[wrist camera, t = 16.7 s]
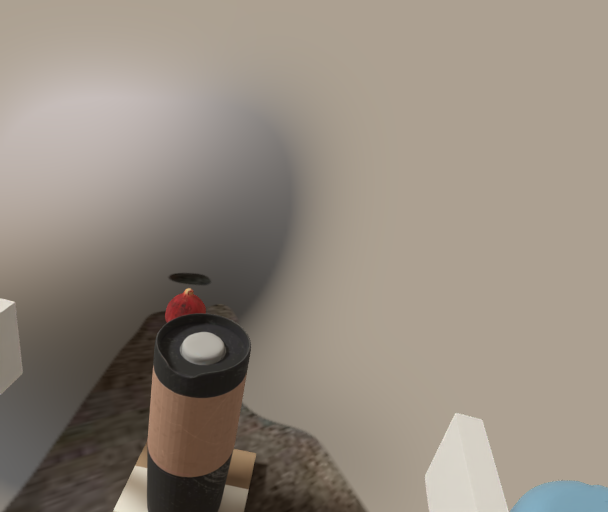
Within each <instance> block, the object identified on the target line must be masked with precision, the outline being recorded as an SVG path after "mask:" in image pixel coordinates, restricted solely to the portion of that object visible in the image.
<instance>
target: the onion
mask: <svg viewBox="0 0 608 512" xmlns="http://www.w3.org/2000/svg"><path fill="white" fill-rule="evenodd" d="M195 313H206V308H205V305H204V303H203V302H202V301H201V299H199V297H197V296H196V295H194V294H193V290H192V289H191V288H189V289H186V290H185V292H184V293H182V294H179V295H177V296H175V297H174V298H173V299H172V300H171V301H170V302H169V304H168V306H167V309H166V313H165V318H166V321H167V323H168V322H169V321H171V320H173V319H175V318H177V317H180V316H183V315H188V314H195Z"/></svg>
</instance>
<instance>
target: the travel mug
mask: <svg viewBox="0 0 608 512" xmlns="http://www.w3.org/2000/svg"><path fill="white" fill-rule="evenodd" d="M250 351H251V343H250V339H249V336H248V334H247V333H246V331H245V330H244V329H243V328H242V327H241V326H240V325H238V324H237V323H236V322H234V321H232V320H230V319H228V318H225V317H222V316H219V315H214V314H206V313H195V314H188V315H183V316H180V317H177V318H175V319H173V320H171V321H169V322H168V323H166V324H165V325H164V326H163V327H162V328H161V329H160V331H159V332H158V334H157V337H156V341H155V351H154V365H153V377H152V391H151V404H150V417H149V430H148V447H147V509H148V512H218V510H219V508H220V504H221V500H222V496H223V492H224V488H225V484H226V479H227V475H228V471H229V466H230V462H231V458H232V453H233V449H234V445H235V439H236V433H237V427H238V421H239V416H240V410H241V404H242V397H243V392H244V386H245V380H246V375H247V368H248V363H249V357H250Z"/></svg>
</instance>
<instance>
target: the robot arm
mask: <svg viewBox="0 0 608 512" xmlns="http://www.w3.org/2000/svg"><path fill="white" fill-rule="evenodd" d="M22 373H23V370H22V360H21V351H20V342H19V333H18V324H17V314H16V305H15V302H13V301H9V300H5V299H1V298H0V395H1V394H2V393H3V392H4V391H5V390H6V389H7V388H8V387H9V386H10V385H11V384H12V383H13V382H14V381H15V380H16V379H17V378H18V377H19V376H21V374H22ZM425 481H426V490H427V498H428V507H429V512H509V511H508V507H507V504H506V501H505V497H504V494H503V490H502V487H501V484H500V480H499V476H498V473H497V469H496V466H495V462H494V459H493V455H492V452H491V448H490V445H489V441H488V438H487V434H486V431H485V428H484V424H483V421H482V419H478V418H474V417H470V416H466V415H462V414H458V413H455V415H454V417H453V419H452V421H451V423H450V425H449V428H448V429H447V432H446V434H445V436H444V438H443V440H442V442H441V444H440V446H439V448H438V450H437V452H436V454H435V456H434V459H433V461H432V463H431V465H430V467H429V469H428V471H427V473H426V475H425ZM510 512H608V488H607V487H604V486H600V485H593V486H591V485H588V484H585V483H582V482H579V481H555V482H548V483H544V484H541V485H539V486H536V487H534V488H533V489H531V490H529V491H528V492H527V493H525V494H524V495H523V496H522V497H521V498H520V499H519V501H518V502H517V503H516V504H515V506H514V507H513V508H512V509H511V511H510Z"/></svg>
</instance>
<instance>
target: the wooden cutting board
mask: <svg viewBox="0 0 608 512" xmlns="http://www.w3.org/2000/svg"><path fill="white" fill-rule="evenodd" d="M147 447H148V441H147V443H146V445H145V447H144V449H143V451H142V453H141V455H140V457H139V459H138V461H137V463H136V465H135V467H134V469H133V471H132V474H131V476H130V478H129V480H128V482H127V484H126V486H125V488H124V490H123V492H122V494H121V496H120V498H119V500H118V502H117V504H116V506H115V508H114V510H113V512H148V509H147ZM255 458H256V453H251V452H246V451H242V450H237V449H233V453H232V458H231V462H230V466H229V471H228V475H227V479H226V484H225V488H224V492H223V496H222V500H221V504H220V508H219V510H218V512H244V509H245V504H246V500H247V495H248V490H249V486H250V481H251V476H252V472H253V467H254V462H255Z"/></svg>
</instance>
